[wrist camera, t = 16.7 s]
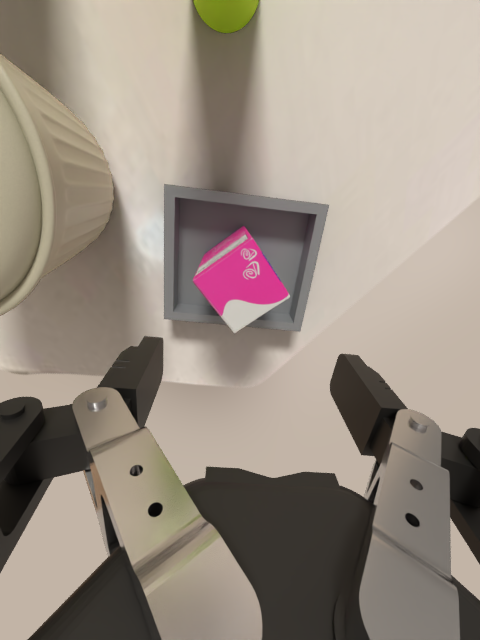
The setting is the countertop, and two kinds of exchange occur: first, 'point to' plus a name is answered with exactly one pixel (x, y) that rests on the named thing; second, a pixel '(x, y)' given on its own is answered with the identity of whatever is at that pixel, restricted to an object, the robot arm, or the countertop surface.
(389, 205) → the countertop surface
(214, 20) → the soap dispenser
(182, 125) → the countertop surface
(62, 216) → the canister
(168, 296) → the tray
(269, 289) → the supplement box
